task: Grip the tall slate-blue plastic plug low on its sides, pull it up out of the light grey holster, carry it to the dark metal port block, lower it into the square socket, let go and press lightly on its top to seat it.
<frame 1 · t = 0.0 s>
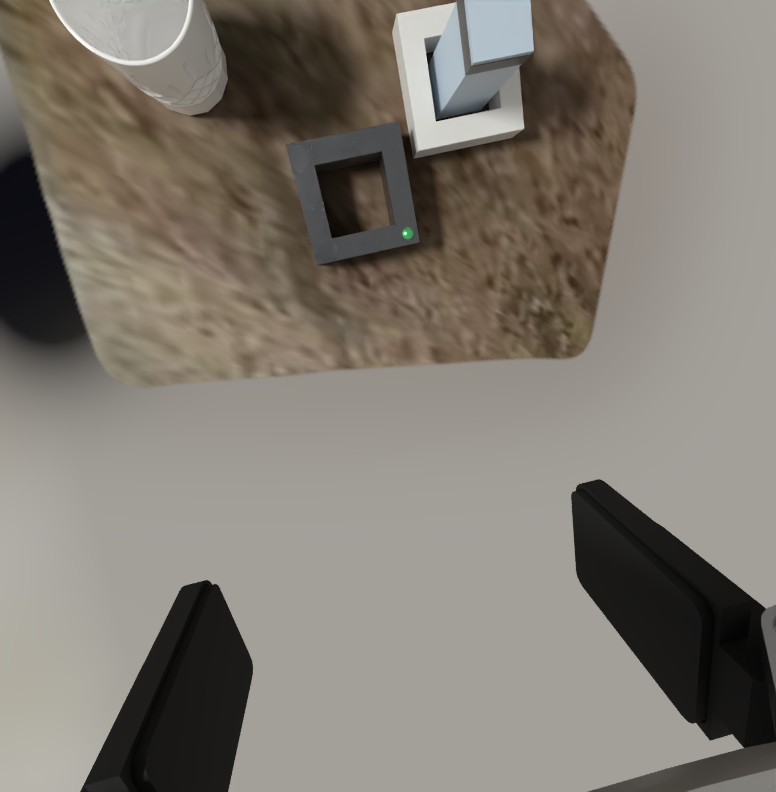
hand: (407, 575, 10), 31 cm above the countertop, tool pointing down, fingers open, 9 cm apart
white cup: (185, 68, 31), on the countertop
holster: (455, 87, 34), on the countertop
port: (354, 201, 36), on the countertop
plug: (473, 58, 29), in the holster
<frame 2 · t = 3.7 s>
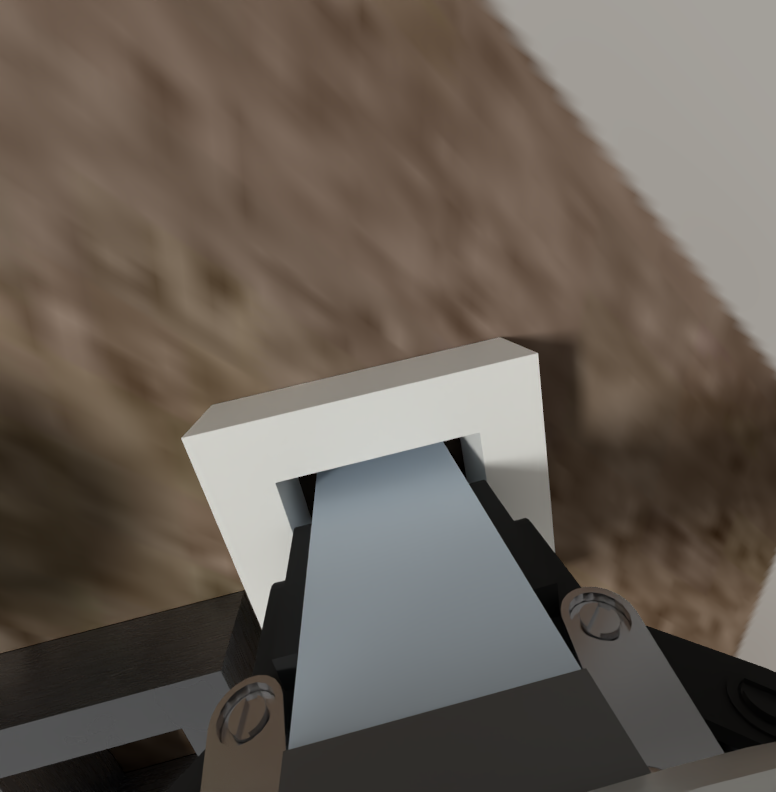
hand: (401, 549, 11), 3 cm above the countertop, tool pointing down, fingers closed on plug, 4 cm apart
holster: (388, 494, 14), on the countertop
port: (166, 710, 16), on the countertop
plug: (416, 612, 9), in the holster, touching gripper
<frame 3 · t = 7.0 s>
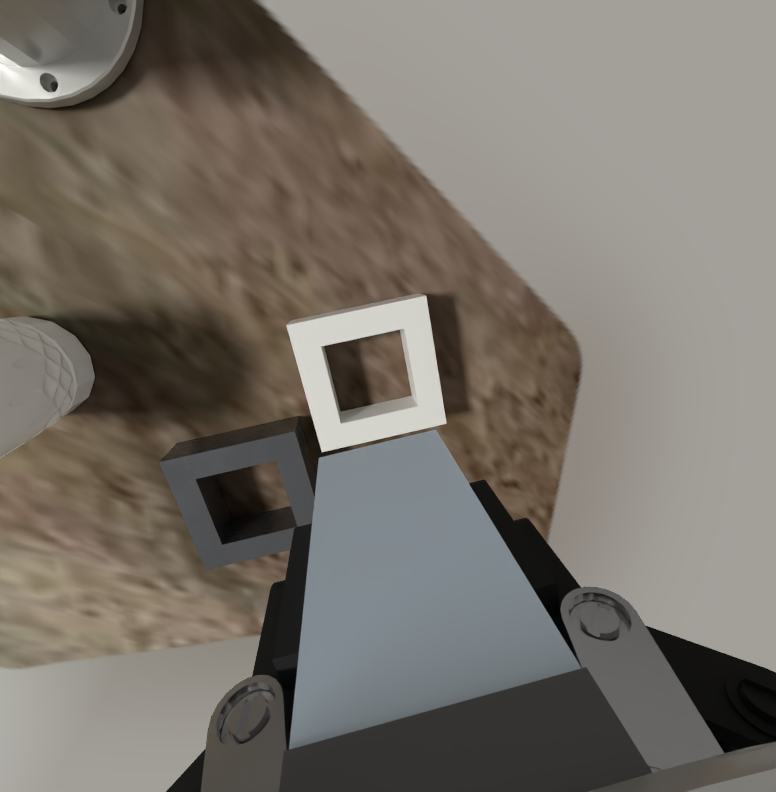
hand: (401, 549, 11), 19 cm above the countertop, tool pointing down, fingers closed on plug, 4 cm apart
white cup: (43, 366, 27), on the countertop
holster: (368, 368, 29), on the countertop
port: (256, 482, 31), on the countertop
plug: (416, 612, 9), point 22 cm above the countertop, touching gripper
when the fingers open (4 cm above the countertop, at t = 10.4 s): plug stays where it is, resting in port.
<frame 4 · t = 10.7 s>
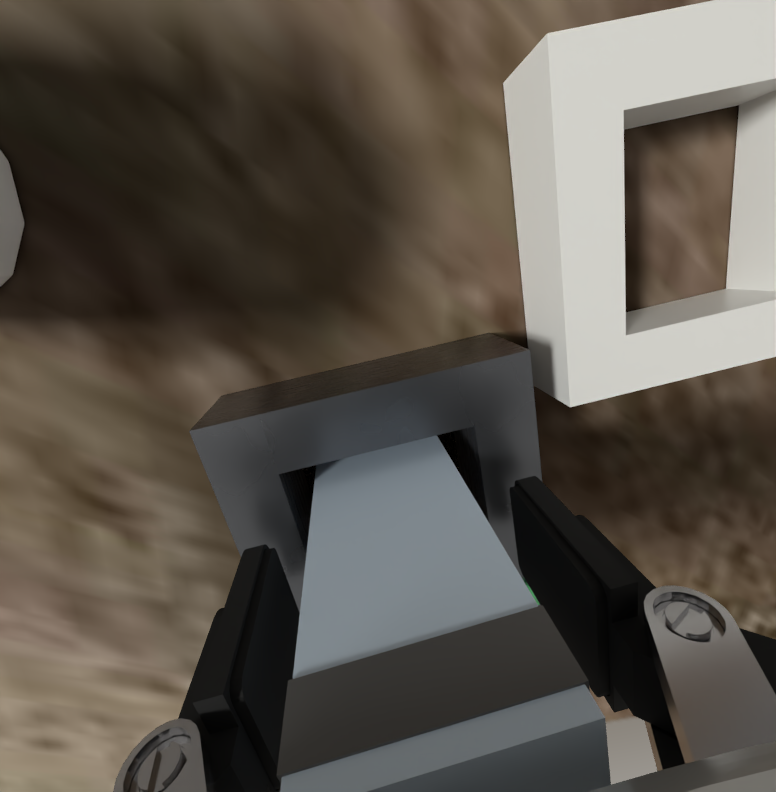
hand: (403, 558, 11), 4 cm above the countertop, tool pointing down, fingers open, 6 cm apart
holster: (652, 221, 13), on the countertop
port: (386, 481, 15), on the countertop
plug: (408, 579, 10), in the port
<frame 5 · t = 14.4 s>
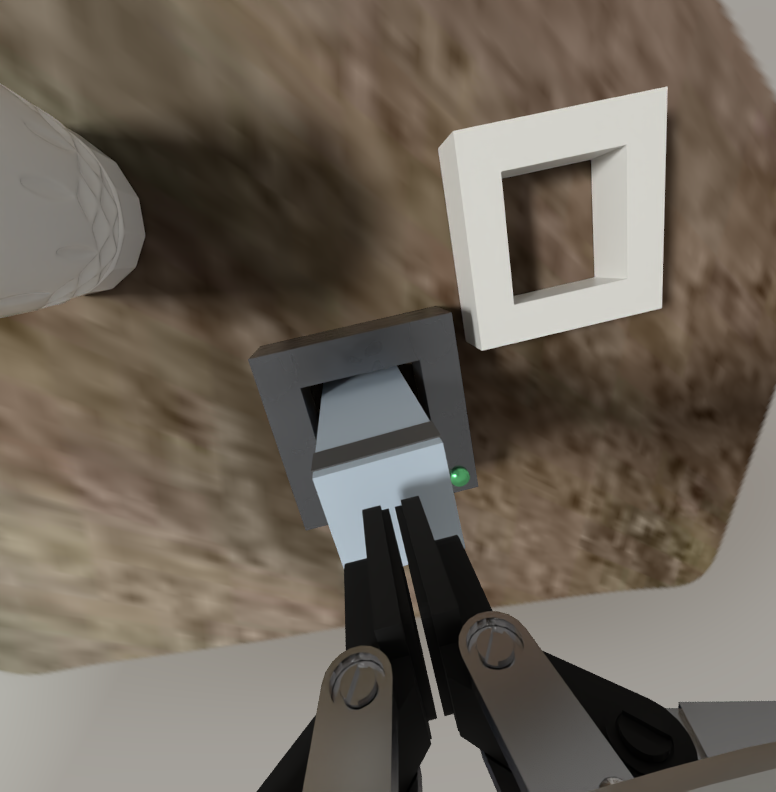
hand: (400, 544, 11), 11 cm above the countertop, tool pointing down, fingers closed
white cup: (67, 217, 17), on the countertop
holster: (540, 232, 20), on the countertop
port: (368, 407, 22), on the countertop
plug: (377, 446, 17), in the port
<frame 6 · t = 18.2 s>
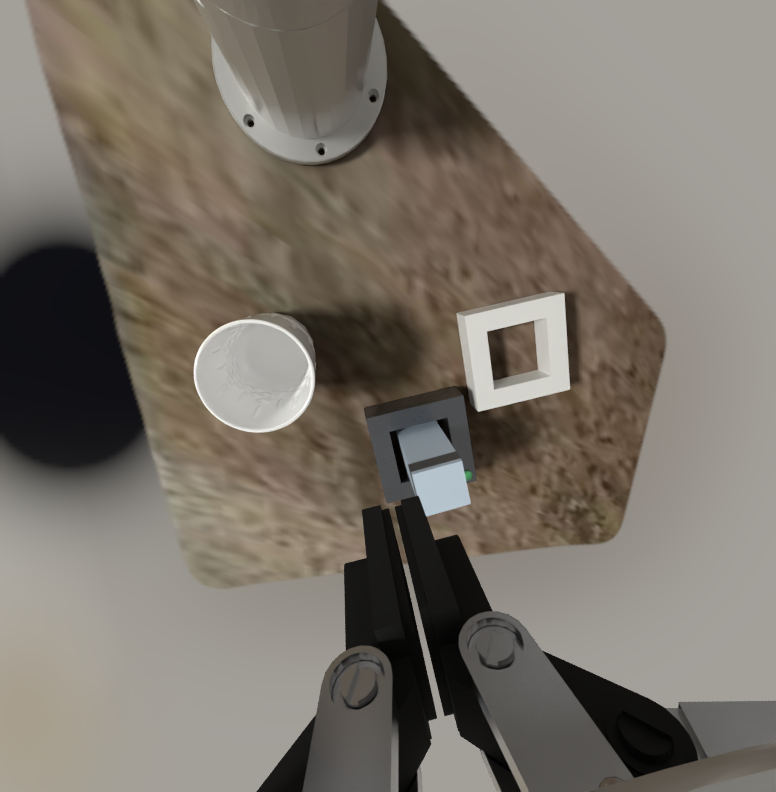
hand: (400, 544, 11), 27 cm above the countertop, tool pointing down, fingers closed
white cup: (277, 349, 36), on the countertop
holster: (508, 349, 39), on the countertop
port: (417, 438, 40), on the countertop
plug: (428, 460, 36), in the port
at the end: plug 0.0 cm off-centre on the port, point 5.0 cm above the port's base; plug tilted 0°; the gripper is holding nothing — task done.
